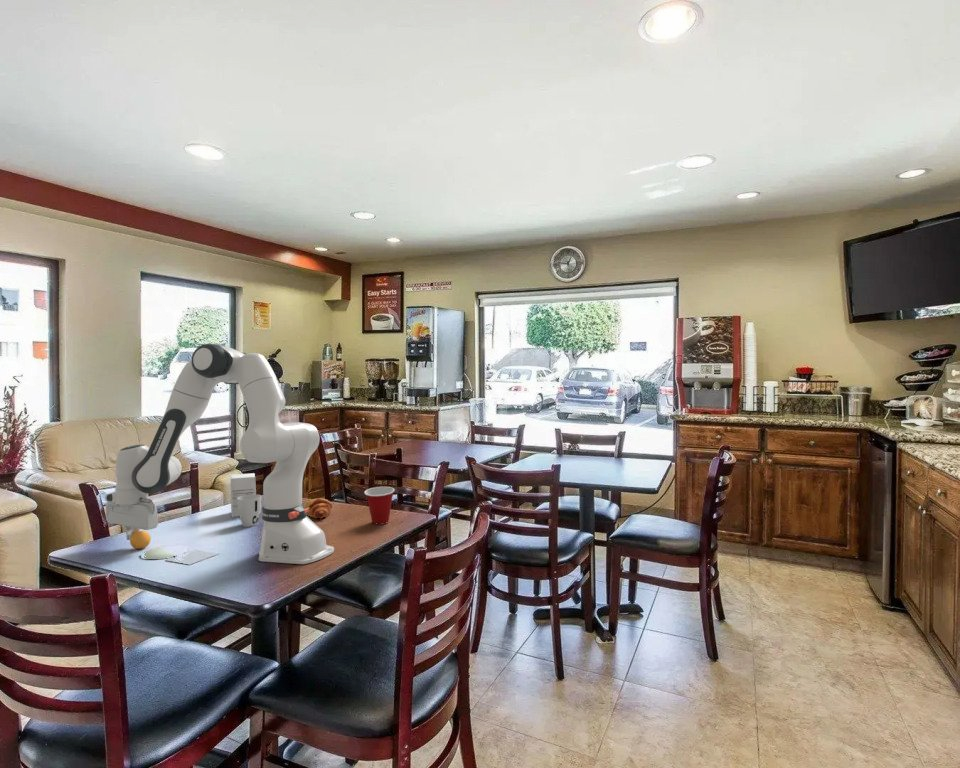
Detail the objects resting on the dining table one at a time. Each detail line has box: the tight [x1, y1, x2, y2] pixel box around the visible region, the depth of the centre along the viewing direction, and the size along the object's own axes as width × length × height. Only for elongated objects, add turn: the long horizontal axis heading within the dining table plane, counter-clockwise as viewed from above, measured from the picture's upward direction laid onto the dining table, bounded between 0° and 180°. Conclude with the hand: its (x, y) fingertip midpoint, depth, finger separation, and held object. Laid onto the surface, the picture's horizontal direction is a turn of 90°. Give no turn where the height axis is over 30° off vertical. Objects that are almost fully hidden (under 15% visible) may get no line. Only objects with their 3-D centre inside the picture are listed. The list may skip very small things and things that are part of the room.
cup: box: [237, 494, 263, 528], centre depth 195 cm, size 8×8×10 cm
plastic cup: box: [364, 486, 395, 525], centre depth 195 cm, size 11×11×12 cm
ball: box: [129, 530, 152, 550], centre depth 169 cm, size 6×6×6 cm
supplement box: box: [230, 472, 257, 518], centre depth 211 cm, size 9×9×15 cm
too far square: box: [166, 549, 219, 566], centre depth 160 cm, size 10×10×1 cm
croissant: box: [304, 497, 333, 519], centre depth 209 cm, size 21×10×8 cm, turn 25°
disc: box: [144, 546, 188, 560], centre depth 165 cm, size 13×13×1 cm
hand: (131, 539), depth 171 cm, fingers closed
